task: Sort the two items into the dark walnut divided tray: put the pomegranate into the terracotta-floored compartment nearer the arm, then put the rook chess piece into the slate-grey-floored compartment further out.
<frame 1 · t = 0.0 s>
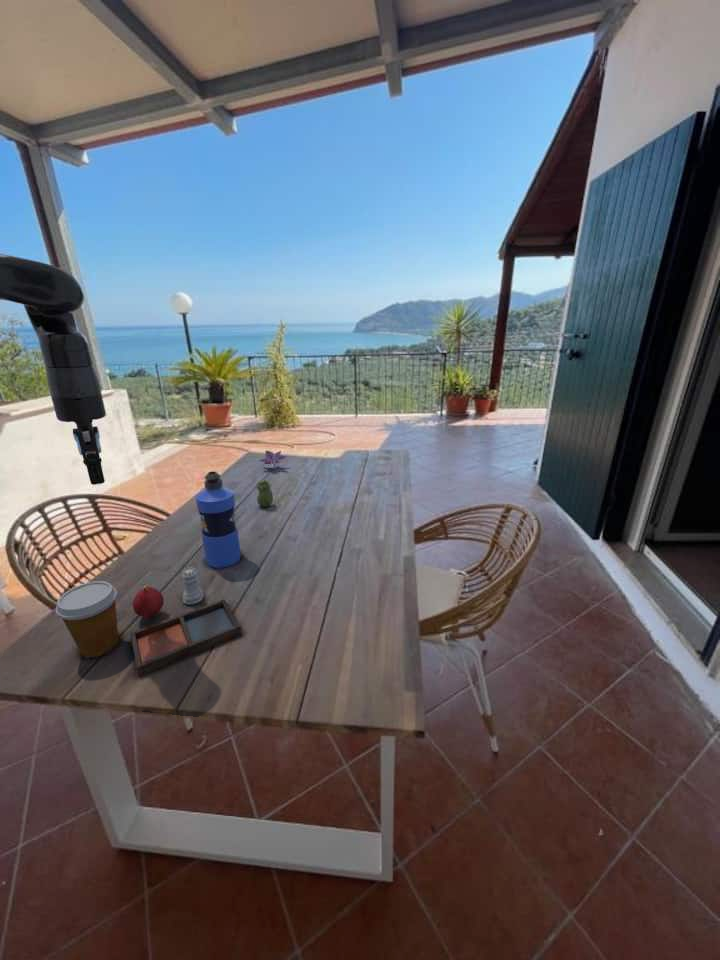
hand: (97, 477, 76), 31 cm above the table, tool pointing down, fingers open, 8 cm apart
pomegranate: (151, 617, 84), on the table
rook chess piece: (193, 600, 90), on the table
lily: (273, 469, 179), on the table
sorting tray: (187, 637, 79), on the table
disposable coffee cup: (100, 646, 77), on the table
pear: (265, 506, 140), on the table
water bottle: (223, 559, 107), on the table
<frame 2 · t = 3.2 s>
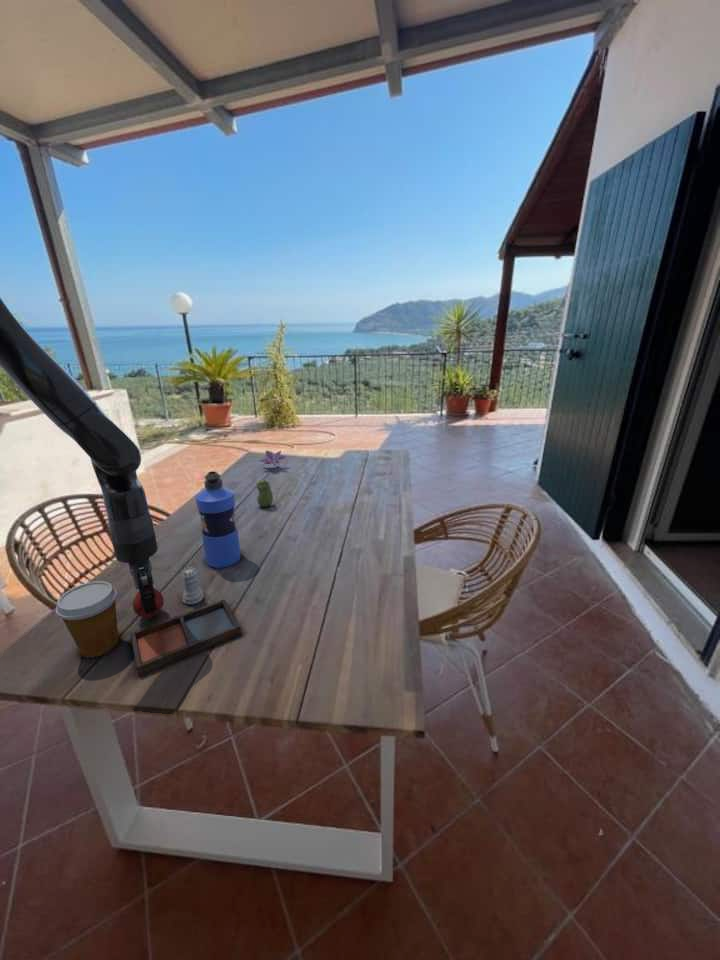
hand: (148, 603, 83), 4 cm above the table, tool pointing down, fingers closed on pomegranate, 6 cm apart
pomegranate: (151, 617, 84), on the table, touching gripper
everything else where it was.
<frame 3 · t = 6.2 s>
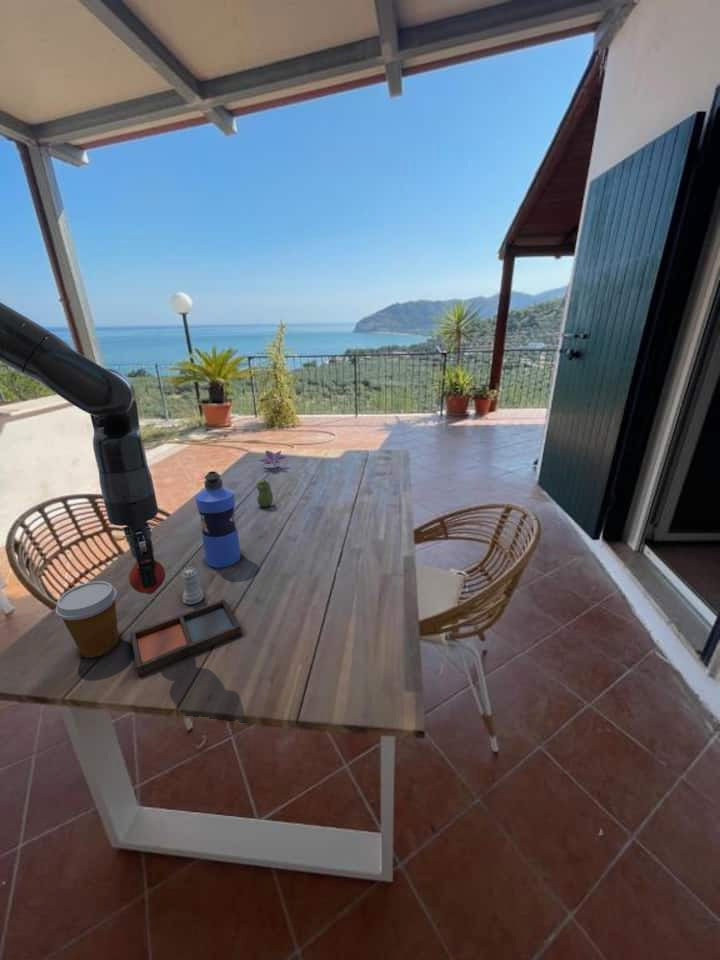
hand: (147, 576, 71), 16 cm above the table, tool pointing down, fingers closed on pomegranate, 6 cm apart
pomegranate: (151, 594, 72), point 12 cm above the table, touching gripper
everything else where it was.
when the fingers open (4 cm above the table, at t = 9.3 s): pomegranate stays where it is, resting on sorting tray.
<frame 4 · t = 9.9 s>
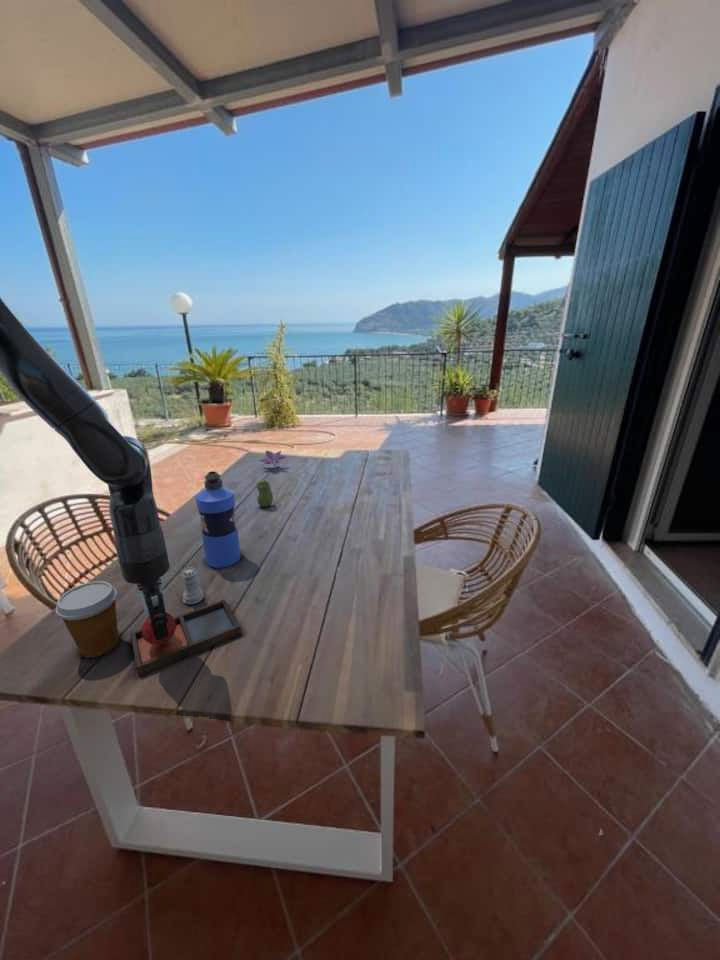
hand: (158, 624, 74), 6 cm above the table, tool pointing down, fingers open, 8 cm apart
pomegranate: (162, 644, 76), point 1 cm above the table, touching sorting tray
everything else where it was.
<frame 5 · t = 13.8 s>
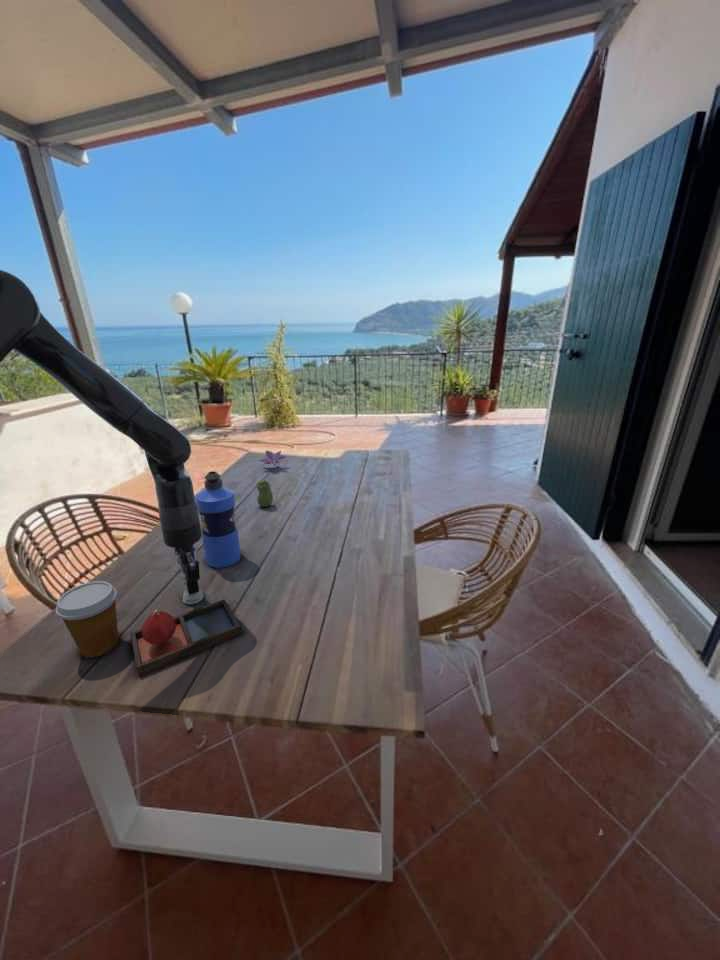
hand: (191, 588, 89), 3 cm above the table, tool pointing down, fingers closed on rook chess piece, 3 cm apart
rook chess piece: (193, 600, 90), on the table, touching gripper
everything else where it was.
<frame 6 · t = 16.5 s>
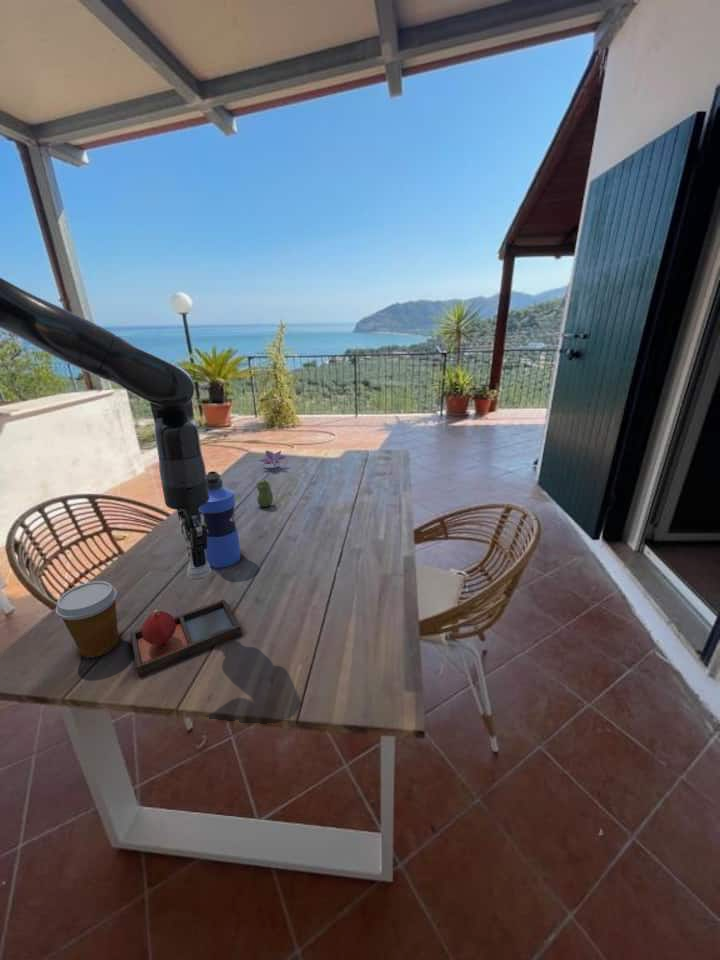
hand: (197, 560, 76), 16 cm above the table, tool pointing down, fingers closed on rook chess piece, 3 cm apart
rook chess piece: (199, 575, 77), point 13 cm above the table, touching gripper
everything else where it was.
when the fingers open (4 cm above the table, at t = 19.5 s): rook chess piece stays where it is, resting on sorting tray.
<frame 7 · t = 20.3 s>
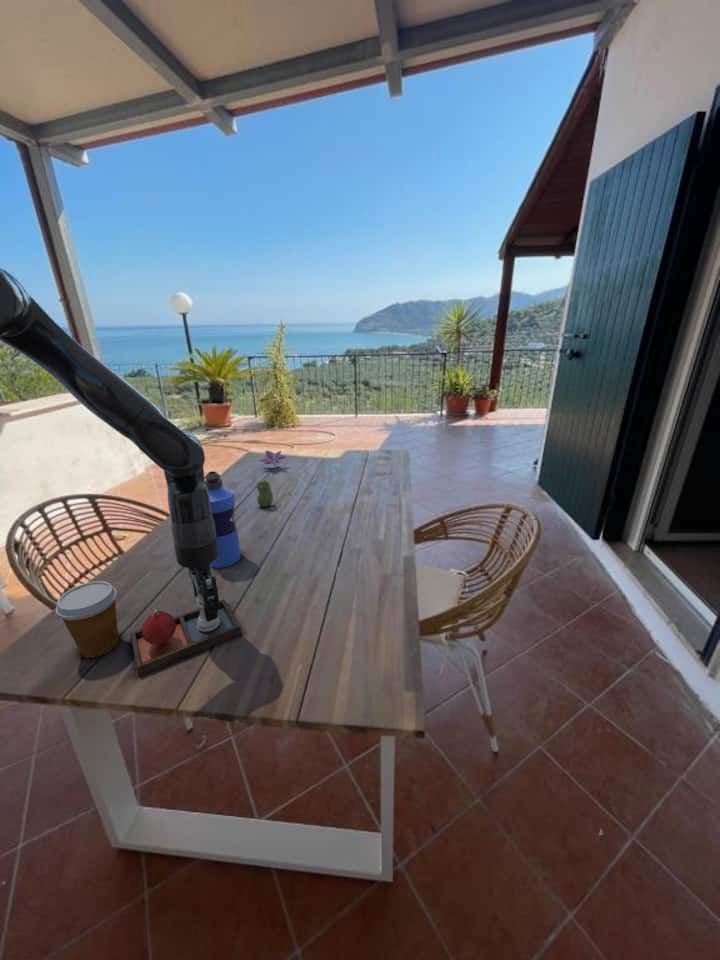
hand: (206, 607, 79), 5 cm above the table, tool pointing down, fingers open, 8 cm apart
rook chess piece: (209, 626, 81), point 1 cm above the table, touching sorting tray
everything else where it was.
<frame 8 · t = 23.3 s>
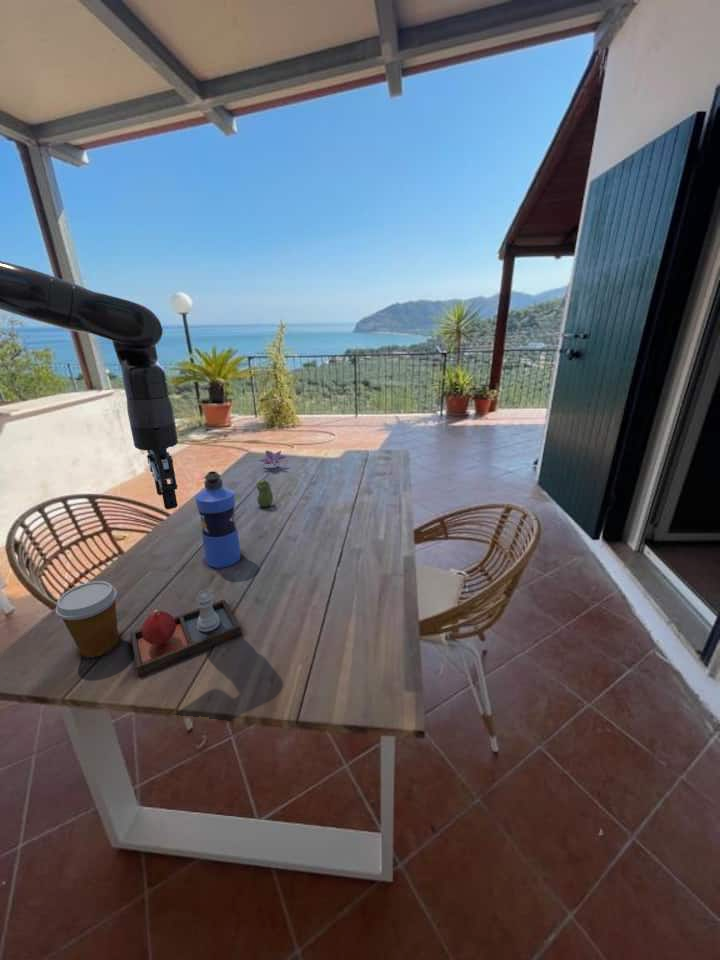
hand: (167, 500, 78), 26 cm above the table, tool pointing down, fingers open, 8 cm apart
nothing on the table moved.
at the end: pomegranate inside the target area on the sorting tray (0.0 cm from its centre), point 0.6 cm above the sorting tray's base; rook chess piece inside the target area on the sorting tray (0.0 cm from its centre), point 0.6 cm above the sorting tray's base; rook chess piece tilted 0° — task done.
